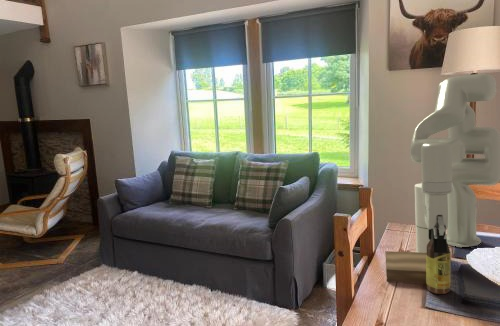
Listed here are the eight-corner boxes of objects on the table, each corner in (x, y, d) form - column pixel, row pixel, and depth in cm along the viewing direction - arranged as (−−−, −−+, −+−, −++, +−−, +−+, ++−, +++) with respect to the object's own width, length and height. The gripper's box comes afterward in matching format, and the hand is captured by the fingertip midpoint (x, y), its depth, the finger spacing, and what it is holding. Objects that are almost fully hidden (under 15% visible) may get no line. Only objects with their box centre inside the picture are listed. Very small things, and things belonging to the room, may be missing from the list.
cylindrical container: (441, 258, 127) (440, 187, 123) (419, 258, 128) (417, 188, 124) (435, 250, 134) (434, 182, 130) (414, 250, 135) (412, 183, 131)
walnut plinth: (385, 262, 128) (385, 251, 127) (430, 264, 124) (430, 252, 123) (386, 281, 115) (386, 269, 114) (436, 284, 110) (436, 271, 110)
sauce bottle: (441, 297, 103) (439, 229, 100) (421, 288, 109) (419, 224, 106) (456, 290, 106) (455, 224, 103) (436, 282, 112) (435, 218, 109)
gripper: (418, 180, 112) (419, 235, 114) (425, 194, 96) (426, 257, 98) (446, 180, 110) (446, 235, 112) (458, 193, 93) (458, 258, 96)
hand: (437, 245), depth 105 cm, fingers open, 9 cm apart
